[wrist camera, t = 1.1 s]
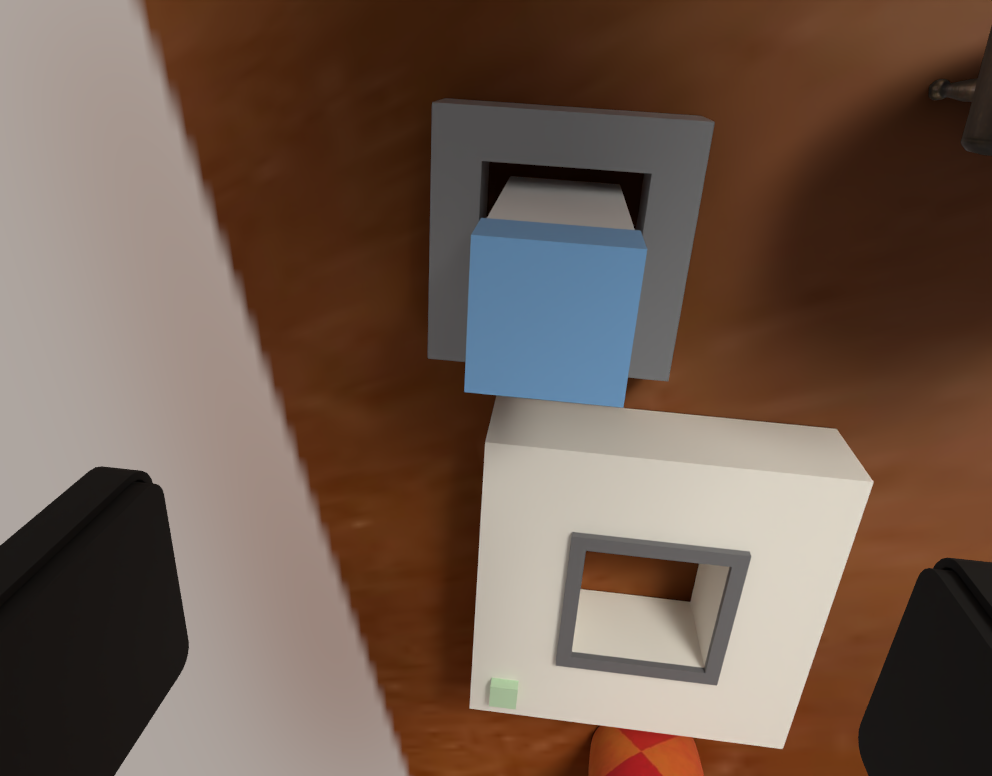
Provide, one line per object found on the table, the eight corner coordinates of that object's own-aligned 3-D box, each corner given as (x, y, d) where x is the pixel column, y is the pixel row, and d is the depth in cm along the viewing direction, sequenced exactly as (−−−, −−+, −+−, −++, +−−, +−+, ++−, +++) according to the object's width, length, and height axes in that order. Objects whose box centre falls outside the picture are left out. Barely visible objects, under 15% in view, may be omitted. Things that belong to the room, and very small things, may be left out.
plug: (507, 173, 26) (471, 234, 17) (622, 181, 26) (647, 249, 17) (501, 283, 28) (464, 391, 19) (608, 292, 27) (623, 407, 18)
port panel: (496, 395, 30) (483, 448, 26) (836, 429, 29) (879, 489, 25) (480, 642, 36) (468, 717, 32) (761, 677, 35) (785, 759, 31)
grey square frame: (445, 98, 25) (431, 102, 23) (702, 115, 24) (714, 121, 22) (439, 334, 29) (427, 358, 27) (660, 355, 28) (668, 381, 26)
